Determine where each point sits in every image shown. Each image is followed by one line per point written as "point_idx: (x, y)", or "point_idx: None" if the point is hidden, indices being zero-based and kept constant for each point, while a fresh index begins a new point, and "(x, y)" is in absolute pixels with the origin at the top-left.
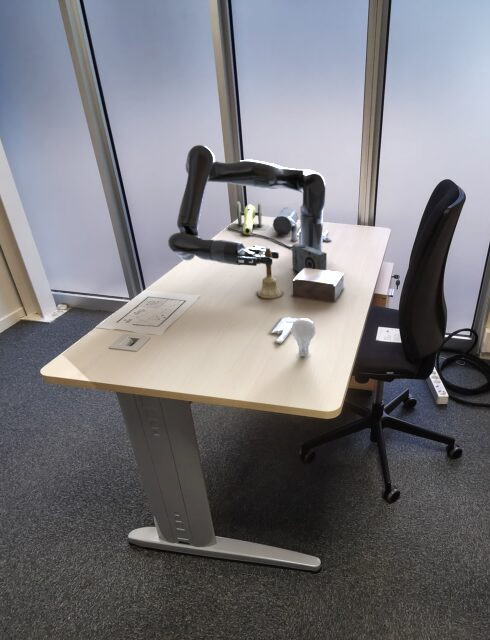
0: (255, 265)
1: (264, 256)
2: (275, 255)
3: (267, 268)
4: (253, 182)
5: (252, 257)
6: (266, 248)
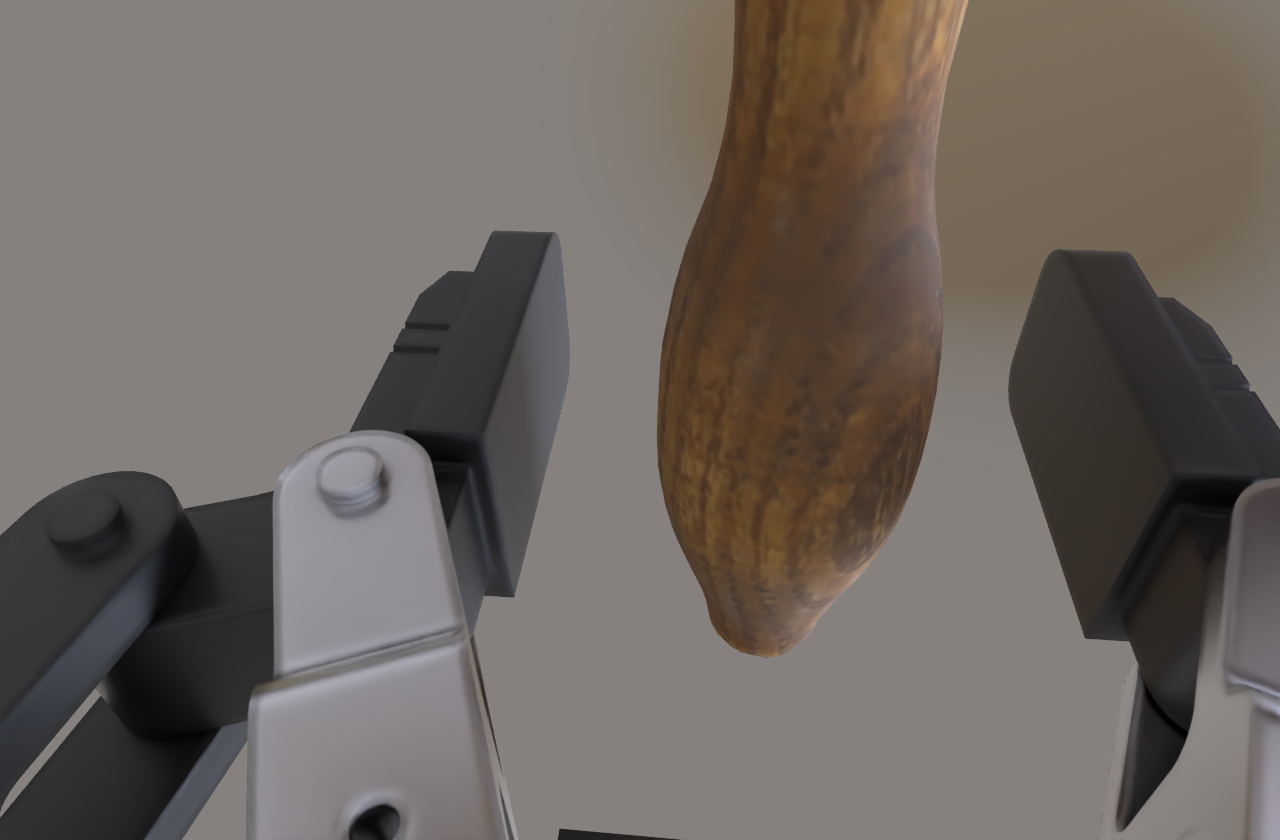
0: (63, 496)
1: (717, 547)
2: (1045, 363)
3: (739, 93)
4: None
5: (174, 781)
6: (765, 653)
